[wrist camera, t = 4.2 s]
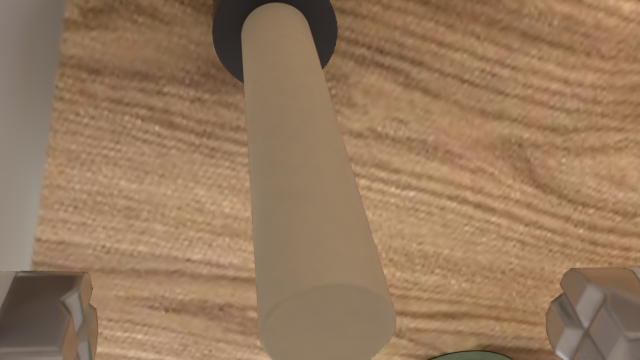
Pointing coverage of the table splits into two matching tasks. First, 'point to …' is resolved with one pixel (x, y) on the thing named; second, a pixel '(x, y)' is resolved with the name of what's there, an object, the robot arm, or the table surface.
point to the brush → (302, 187)
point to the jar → (472, 356)
